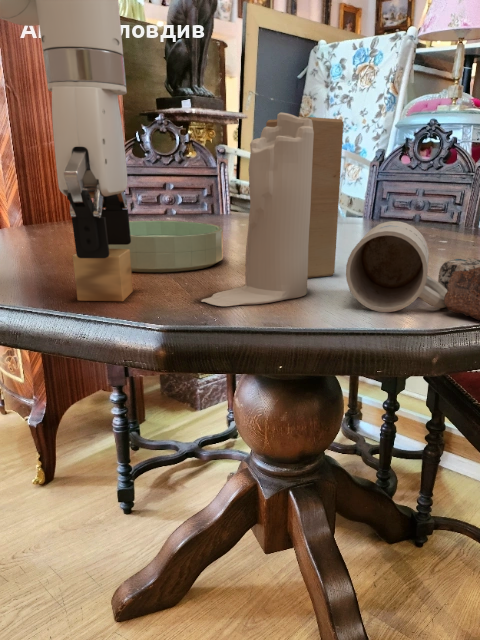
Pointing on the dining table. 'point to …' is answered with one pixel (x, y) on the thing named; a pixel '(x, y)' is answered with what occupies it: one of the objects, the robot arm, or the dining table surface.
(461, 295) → the stone
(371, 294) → the mug
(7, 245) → the dining table surface
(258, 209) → the candle
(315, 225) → the decorative block
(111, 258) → the block
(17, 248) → the dining table surface
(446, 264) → the rock
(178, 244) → the bowl
